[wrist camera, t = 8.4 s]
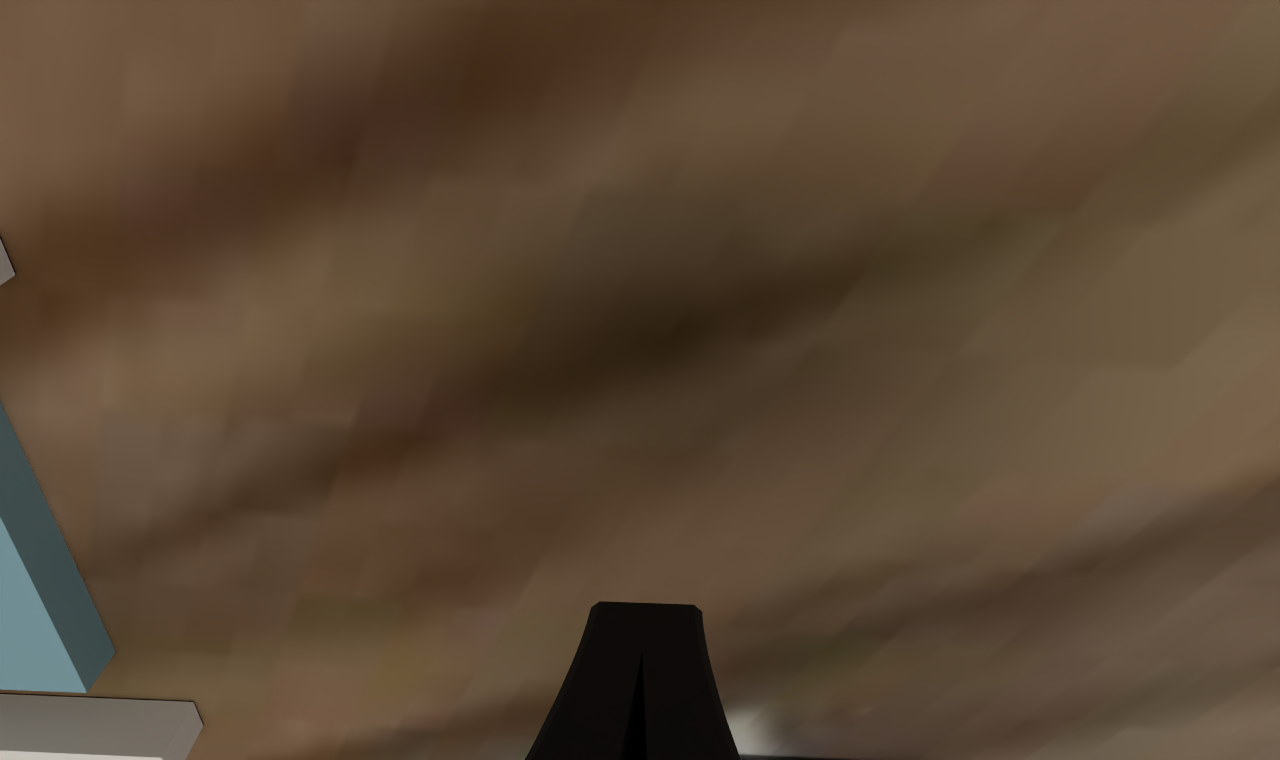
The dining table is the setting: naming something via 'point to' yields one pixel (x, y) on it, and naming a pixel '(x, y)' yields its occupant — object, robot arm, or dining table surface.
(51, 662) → the rectangular block
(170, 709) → the rack
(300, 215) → the dining table surface
